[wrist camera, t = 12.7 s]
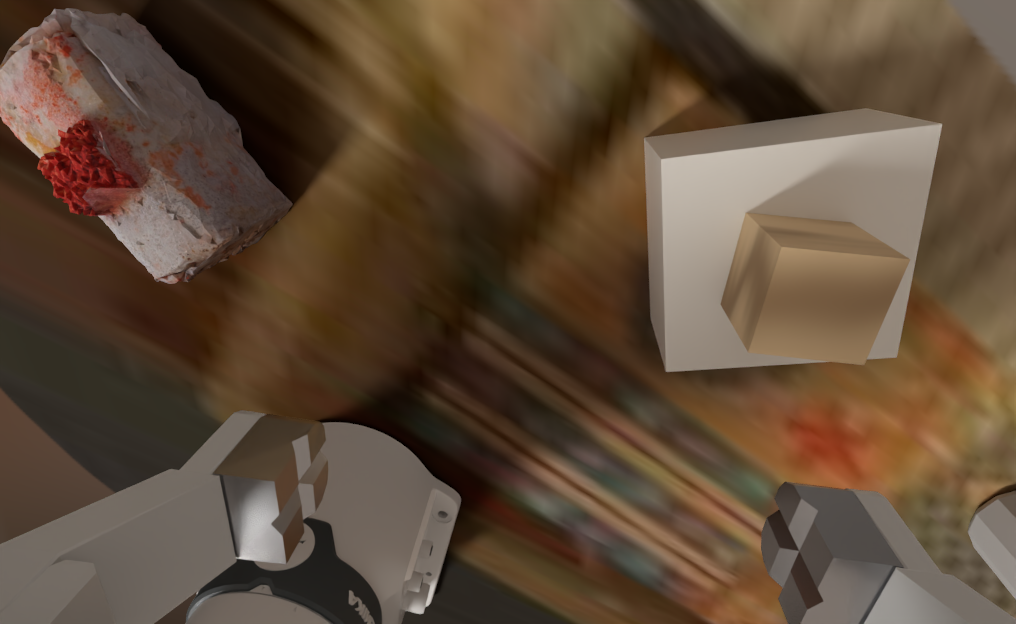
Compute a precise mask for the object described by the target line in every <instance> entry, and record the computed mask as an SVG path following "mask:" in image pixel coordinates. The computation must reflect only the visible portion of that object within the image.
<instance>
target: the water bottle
mask: <svg viewBox="0 0 1016 624" xmlns="http://www.w3.org/2000/svg"><path fill="white" fill-rule="evenodd" d="M968 533H969V536H970V538H971V541H972V544H973V546H974V548H975V549H976V550H977V552H978V553H979V554H980V555H981V557H982V558H983V559H984V560H985V562H986V563H987V564H988V565H989V567H990V568H991V569H992V570H993V572H994V573H995V574H996V575H997V577H998V578H999V579H1000V580H1001V582H1002V583H1003V584H1004V585H1005V587H1006V588H1007V589H1008V590H1009V592H1010V593H1011V594H1012V595H1013V597H1014V598H1015V599H1016V490H1015V491H1012V492H1008V493H1005V494H1001V495H998V496H995V497H994V498H992V499H991V500H989V501H988V502H987V503H985V504H984V505H982V506H981V507H980V508H978V509H977V510H976V512H975V514H974V516H973V518H972V520H971V522H970V524H969V528H968Z"/></svg>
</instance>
